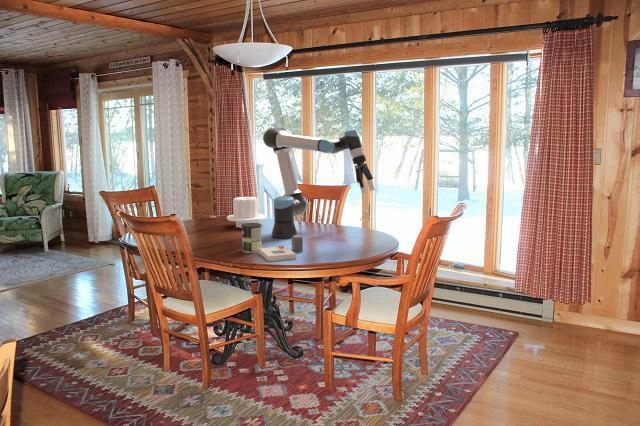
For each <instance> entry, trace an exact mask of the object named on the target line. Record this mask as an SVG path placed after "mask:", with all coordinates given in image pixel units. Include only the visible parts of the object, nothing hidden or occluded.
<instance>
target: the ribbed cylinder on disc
mask: <svg viewBox="0 0 640 426" xmlns="http://www.w3.org/2000/svg"><path fill="white" fill-rule="evenodd" d="M232 199H233V200H232V209H233V210H232V211H233V214H229V215H227V216H226V220H228V221H229V222H235V227H236V228H238V227H239V229H242V226H241V225H242V224H245V223H258V222H259V221H263V220H265V219H266V215H265V214H262V213H260V211H259V210H260V207H259V206H260V205H259V201H260V200H259V198H258V197H255V196H237V197H234V198H232Z"/></svg>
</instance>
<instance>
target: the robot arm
mask: <svg viewBox="0 0 640 426" xmlns="http://www.w3.org/2000/svg"><path fill="white" fill-rule="evenodd" d="M262 141H263V143H264V145H265V146H267V147H268V148H271V149H272V151H273V153H274V154H276V158H277V161H278V162H277V163H278V167H279V173H280V175H281V180H282V184H283V185H282V186H283V188H284V194H283V195H282V196H278V197H276V198H274V201H273V214H274V215H273V216H274V218H273V219H274V221H273V222H274V224H273V227H272V230H271V237H272V238H274V239H292V237H293V236H294V235H298V231H297V228H296V225H295V216H299V215H302V214H303V213H305V211H306V210H307V208H308V200H307V198H306V197H304V195H303V192H302V191H301V190H300V189H299V185H298V180H297V175H296V171H295V166H294V162H293V157H292V153H291V151H292V150H293V149H298V150H299V149H300V150H305V151H313V152H321V153H324V154H331V155H333V154H337V153H340V152H343V151H346V150H349V154H350V157H351V158H352V159H351V160H352V163H353V165H354V168H355V170H354V171H355V178H356V183H357V184H358V186H359V187H360V188H359V189H360V191H361V194H362V195H364V194H367V193H368V192H367V188H366V184H365V181H364V179H363V178H364V177H365V178H366V180H367V185H368V190H369V192H372V191H375V190H376V189H375V186H374V182H373V180H374V177H373V175H372V173H371V171H370V168H369V167H368V163H366V161H367V157H366V155H365V152H364V150H365V149H364V148H363V145H362V142H361V139H360V134H359V132H358V130H357V129H355V128H353V129H350V130H346V131H345V132H344V136H341V137H338V138H325V137H324V138H321V137H314V136H313V137H312V136H306V135H297V134H293V133H292V132H291V131H290V130H289V129H287V128H285V127H284V128H283V127H274V128H272V127H271V128H269V129H267V130H266V131H264V133H263V136H262Z"/></svg>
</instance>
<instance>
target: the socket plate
mask: <svg viewBox="0 0 640 426" xmlns="http://www.w3.org/2000/svg"><path fill="white" fill-rule="evenodd" d="M258 253H259V255H261V257H263V258H264V259H265V260H266V261H267V262H276V261H288V260H296V259H297V252H294V251H292V249H290V248H289V247H287V246H285V245H284V246H283V245H278V246H275V247H273V246H271V247H262V248H260V249H259V252H258Z"/></svg>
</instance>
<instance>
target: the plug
mask: <svg viewBox="0 0 640 426" xmlns="http://www.w3.org/2000/svg"><path fill="white" fill-rule="evenodd" d="M303 246H304V245H303V237H302V236H301V235H299V234H297V235H294V236H293V237H292V238H291V251H293V252H294V253H301V252H303V251H304V248H303Z"/></svg>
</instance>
